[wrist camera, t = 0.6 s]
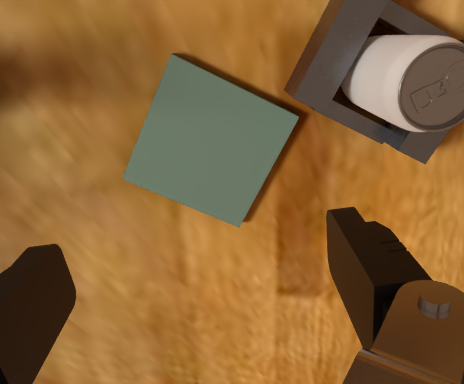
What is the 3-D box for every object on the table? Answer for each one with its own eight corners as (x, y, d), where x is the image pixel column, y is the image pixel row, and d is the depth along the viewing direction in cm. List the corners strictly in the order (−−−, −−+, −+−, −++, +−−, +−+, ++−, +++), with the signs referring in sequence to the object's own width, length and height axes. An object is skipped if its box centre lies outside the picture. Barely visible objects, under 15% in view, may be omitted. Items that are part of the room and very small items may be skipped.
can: (417, 82, 36) (506, 103, 24) (356, 119, 37) (414, 156, 26) (389, 20, 33) (473, 12, 22) (326, 61, 35) (375, 74, 24)
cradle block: (341, -22, 32) (361, -32, 27) (465, 51, 35) (502, 53, 30) (282, 92, 36) (291, 101, 31) (398, 151, 38) (423, 167, 34)
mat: (172, 53, 34) (171, 54, 33) (296, 114, 36) (299, 116, 35) (125, 175, 38) (122, 179, 37) (238, 222, 41) (239, 227, 40)
